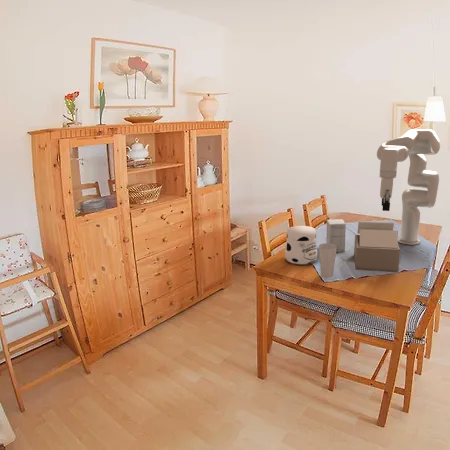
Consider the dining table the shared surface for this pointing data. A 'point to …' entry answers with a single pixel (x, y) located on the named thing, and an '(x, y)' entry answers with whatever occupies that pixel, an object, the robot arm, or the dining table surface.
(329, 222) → the small drawer cabinet
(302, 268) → the dining table surface
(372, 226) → the back flap
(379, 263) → the carton
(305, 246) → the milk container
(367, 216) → the dining table surface
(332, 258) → the cup
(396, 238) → the front flap
